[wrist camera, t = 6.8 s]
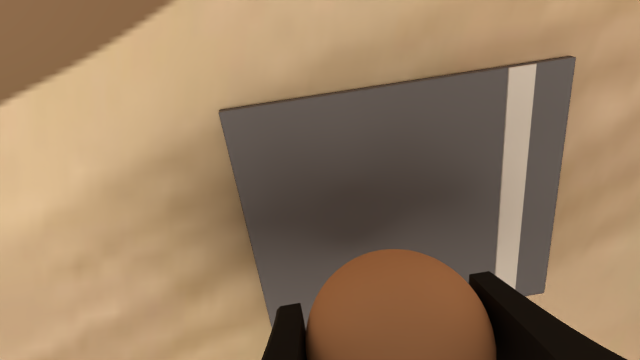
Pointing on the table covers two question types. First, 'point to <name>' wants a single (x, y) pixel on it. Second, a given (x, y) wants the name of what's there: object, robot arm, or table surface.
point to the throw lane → (404, 176)
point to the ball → (398, 312)
